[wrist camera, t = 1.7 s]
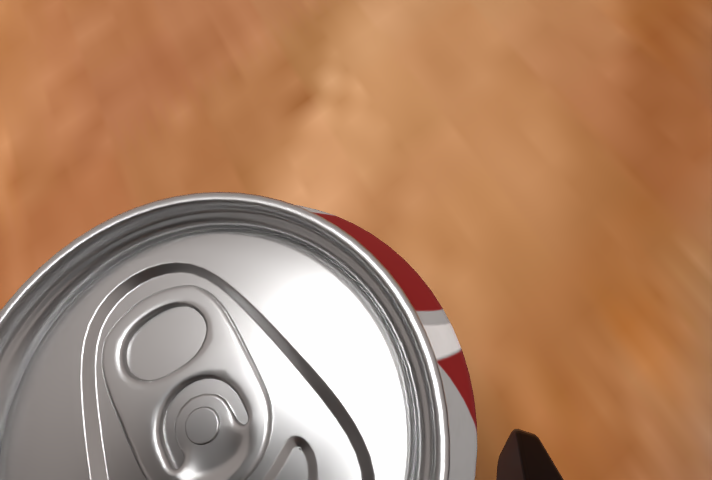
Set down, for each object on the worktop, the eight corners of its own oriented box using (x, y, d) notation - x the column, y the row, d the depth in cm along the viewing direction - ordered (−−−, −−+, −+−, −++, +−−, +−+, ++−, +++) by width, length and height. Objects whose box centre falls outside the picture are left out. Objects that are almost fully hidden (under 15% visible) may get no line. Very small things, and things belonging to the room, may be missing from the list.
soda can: (296, 540, 14) (-41, 1141, 3) (210, 366, 16) (-184, 331, 5) (457, 425, 15) (673, 559, 4) (356, 272, 17) (301, 61, 6)
